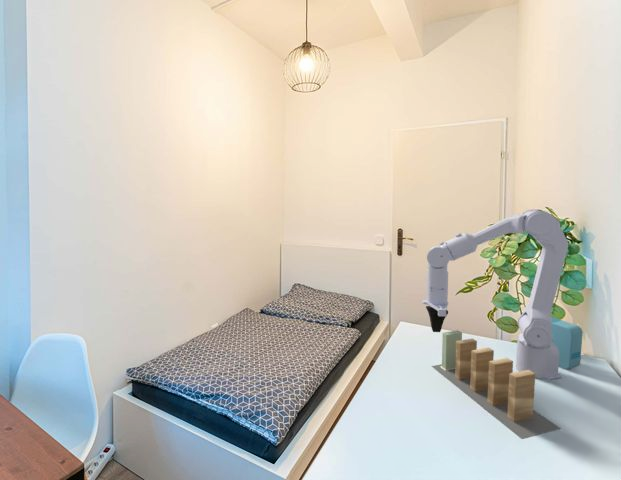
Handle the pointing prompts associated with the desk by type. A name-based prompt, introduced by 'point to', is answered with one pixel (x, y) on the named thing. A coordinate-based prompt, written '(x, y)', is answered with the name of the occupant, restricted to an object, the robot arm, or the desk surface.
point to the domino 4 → (521, 395)
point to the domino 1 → (464, 358)
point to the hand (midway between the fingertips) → (436, 331)
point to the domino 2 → (480, 368)
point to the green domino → (450, 348)
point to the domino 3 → (499, 381)
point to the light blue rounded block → (567, 342)
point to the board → (501, 409)
